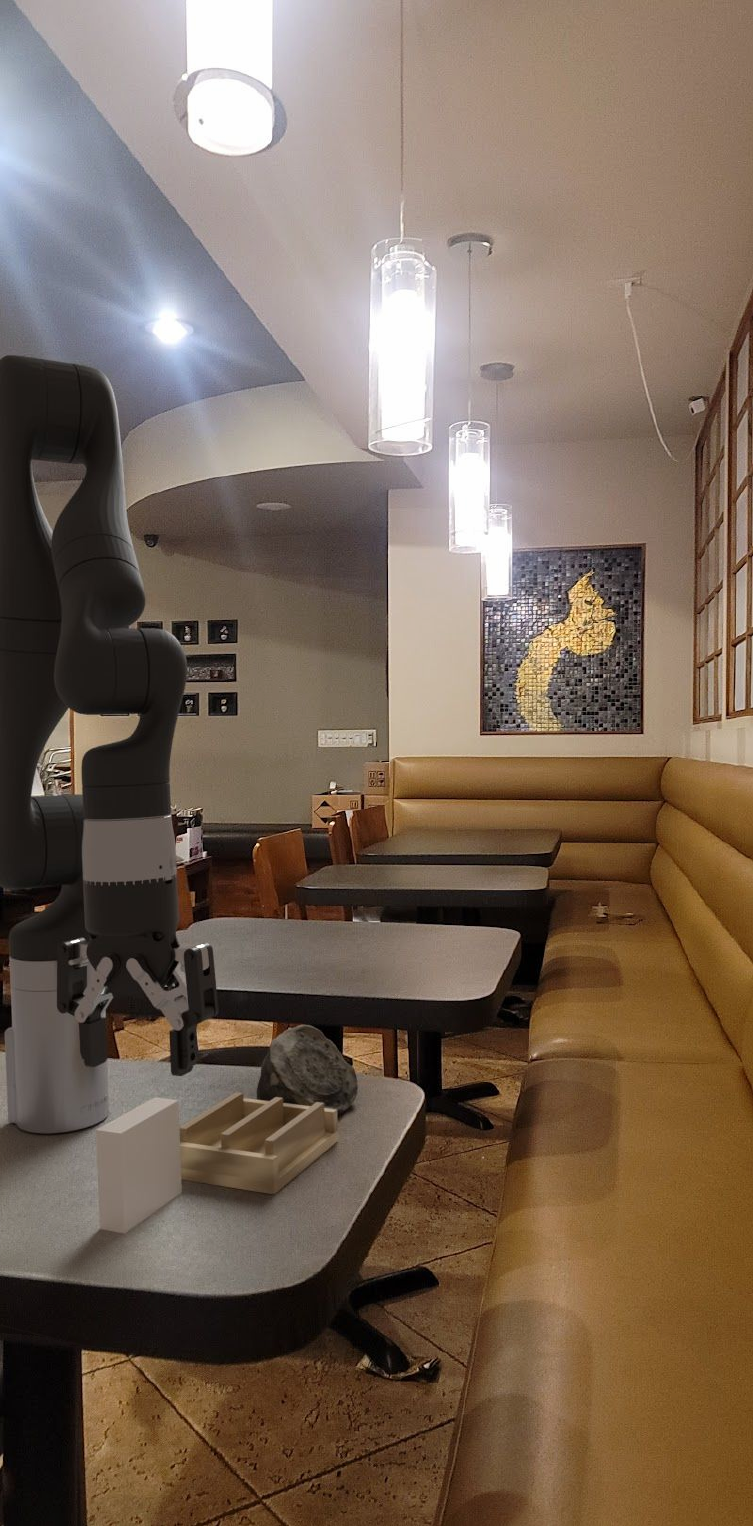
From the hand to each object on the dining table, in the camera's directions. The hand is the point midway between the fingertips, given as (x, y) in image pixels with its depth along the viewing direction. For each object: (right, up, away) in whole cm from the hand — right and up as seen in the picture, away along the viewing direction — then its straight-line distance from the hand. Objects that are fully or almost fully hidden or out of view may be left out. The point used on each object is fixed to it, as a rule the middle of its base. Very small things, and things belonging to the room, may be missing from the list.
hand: (138, 1068), depth 89 cm
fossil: (+12, -11, +24) cm, 29 cm away
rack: (+8, -11, +11) cm, 18 cm away
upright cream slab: (0, -12, +1) cm, 12 cm away
